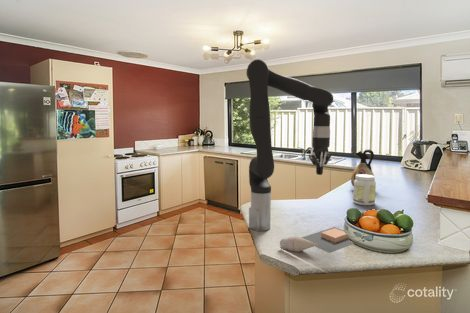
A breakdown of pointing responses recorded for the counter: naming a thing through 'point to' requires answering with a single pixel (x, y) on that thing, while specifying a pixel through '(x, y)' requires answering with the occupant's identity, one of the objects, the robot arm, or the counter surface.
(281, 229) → the counter surface
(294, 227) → the counter surface
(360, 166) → the ceramic jug
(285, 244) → the ice cream cone
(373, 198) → the supplement tub
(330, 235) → the tile
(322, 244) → the mat
